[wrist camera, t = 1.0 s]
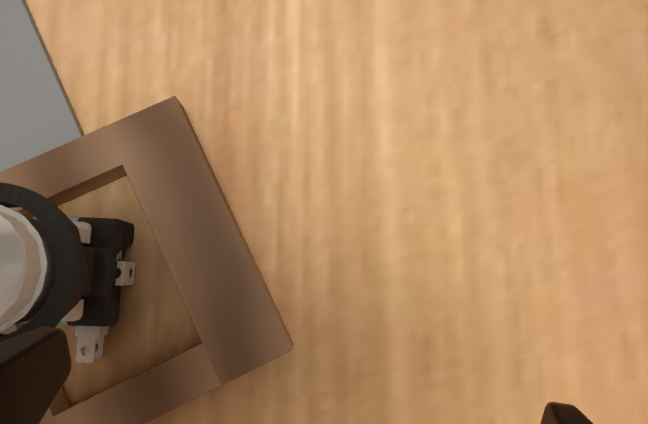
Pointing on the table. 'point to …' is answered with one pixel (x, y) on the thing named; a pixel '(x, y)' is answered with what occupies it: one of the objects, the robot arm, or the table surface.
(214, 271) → the board
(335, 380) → the table surface
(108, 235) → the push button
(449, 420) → the table surface
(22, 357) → the robot arm
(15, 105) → the felt pad
